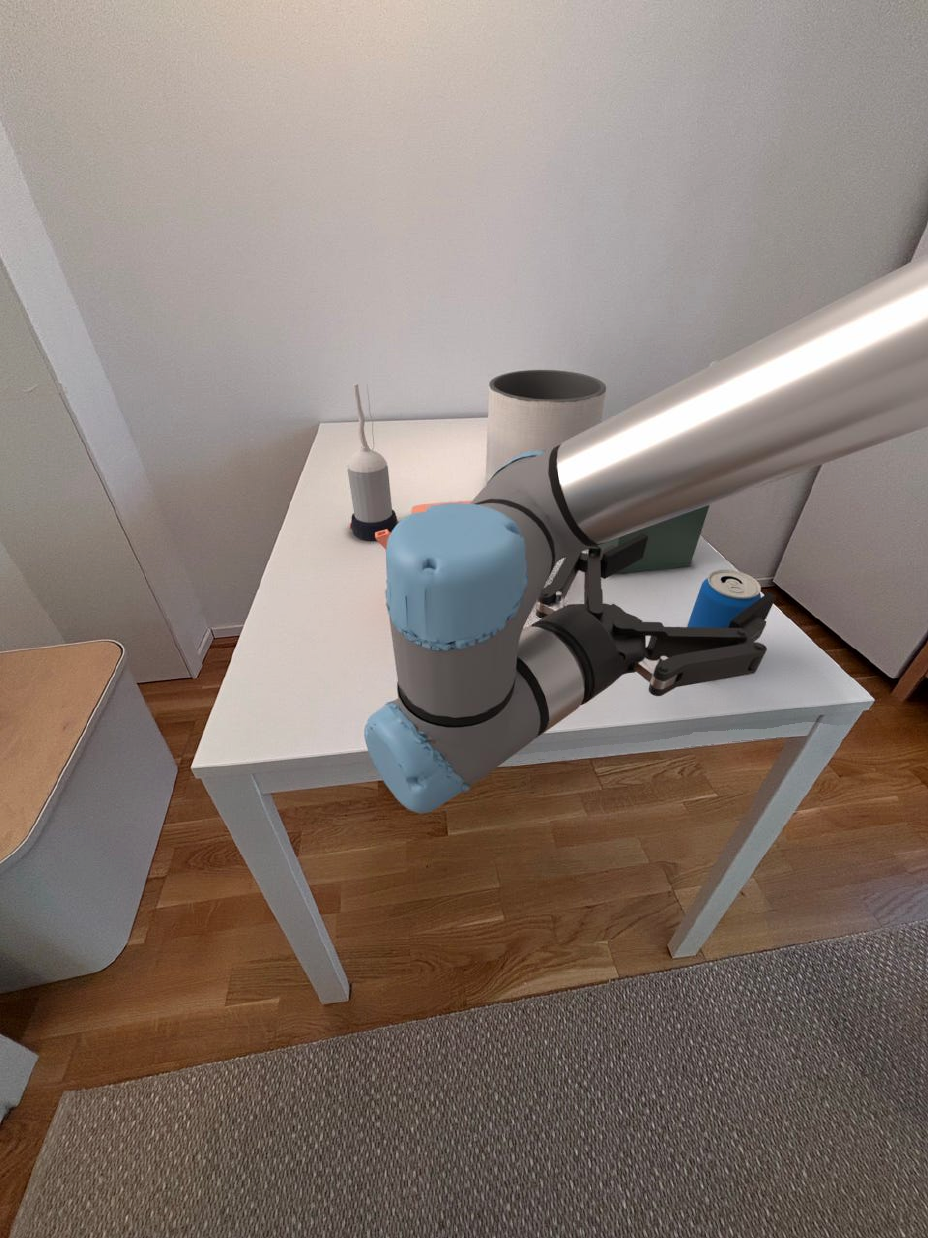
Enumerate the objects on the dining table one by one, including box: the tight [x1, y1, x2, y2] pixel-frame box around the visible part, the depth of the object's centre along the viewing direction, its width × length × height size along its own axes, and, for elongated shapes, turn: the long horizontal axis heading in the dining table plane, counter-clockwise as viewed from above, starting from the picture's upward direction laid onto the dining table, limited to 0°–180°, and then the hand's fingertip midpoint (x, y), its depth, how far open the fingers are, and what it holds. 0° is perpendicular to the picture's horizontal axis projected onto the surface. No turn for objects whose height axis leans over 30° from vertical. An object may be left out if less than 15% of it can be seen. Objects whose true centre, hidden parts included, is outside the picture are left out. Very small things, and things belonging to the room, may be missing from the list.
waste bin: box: [598, 504, 711, 575], centre depth 85 cm, size 14×14×12 cm
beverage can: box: [686, 568, 762, 628], centre depth 63 cm, size 6×6×12 cm
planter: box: [485, 369, 607, 483], centre depth 103 cm, size 22×22×20 cm
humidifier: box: [347, 383, 398, 542], centre depth 86 cm, size 8×8×25 cm
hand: (700, 573), depth 51 cm, fingers open, 13 cm apart
